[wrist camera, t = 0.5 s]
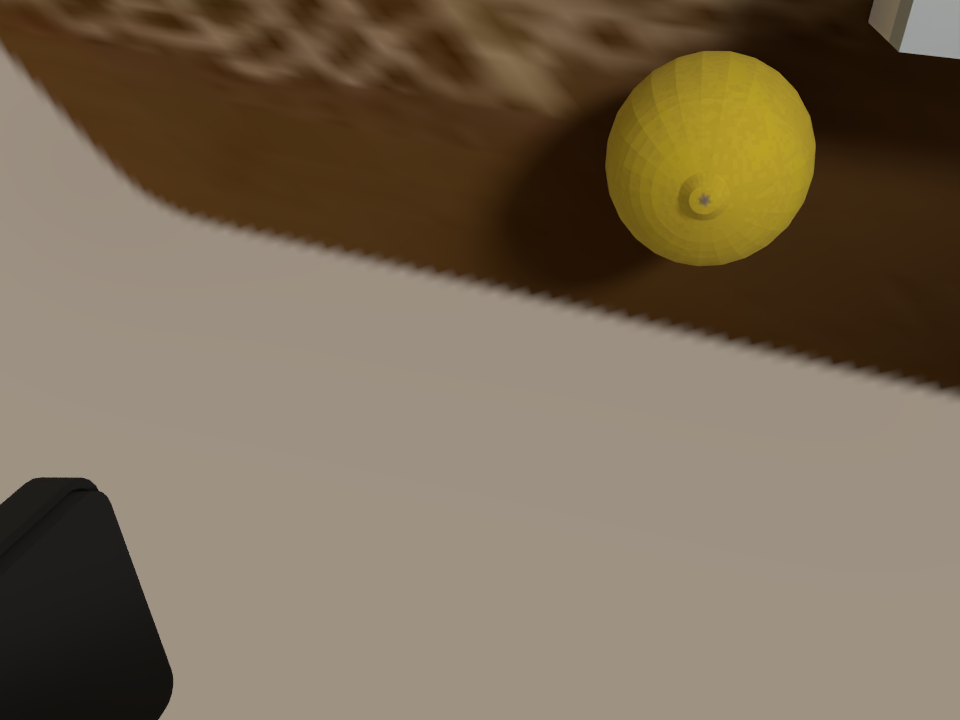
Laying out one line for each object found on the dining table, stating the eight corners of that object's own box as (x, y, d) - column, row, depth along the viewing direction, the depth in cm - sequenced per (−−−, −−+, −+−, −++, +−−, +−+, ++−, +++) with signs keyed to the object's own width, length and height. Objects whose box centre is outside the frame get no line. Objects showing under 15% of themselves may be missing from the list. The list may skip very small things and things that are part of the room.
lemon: (825, 178, 28) (855, 271, 21) (653, 232, 30) (629, 333, 23) (776, 2, 26) (791, 41, 19) (597, 72, 28) (553, 130, 21)
